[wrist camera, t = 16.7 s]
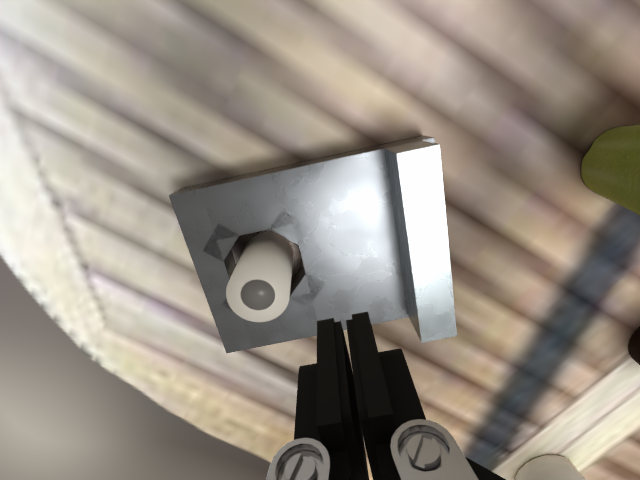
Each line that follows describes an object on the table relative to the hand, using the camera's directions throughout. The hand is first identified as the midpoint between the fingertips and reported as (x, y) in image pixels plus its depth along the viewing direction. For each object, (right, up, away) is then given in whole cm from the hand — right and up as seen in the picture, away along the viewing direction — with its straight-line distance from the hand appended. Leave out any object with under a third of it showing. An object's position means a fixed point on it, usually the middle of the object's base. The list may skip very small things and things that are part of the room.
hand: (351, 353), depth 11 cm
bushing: (-6, +2, +23) cm, 24 cm away
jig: (-1, +3, +22) cm, 23 cm away
